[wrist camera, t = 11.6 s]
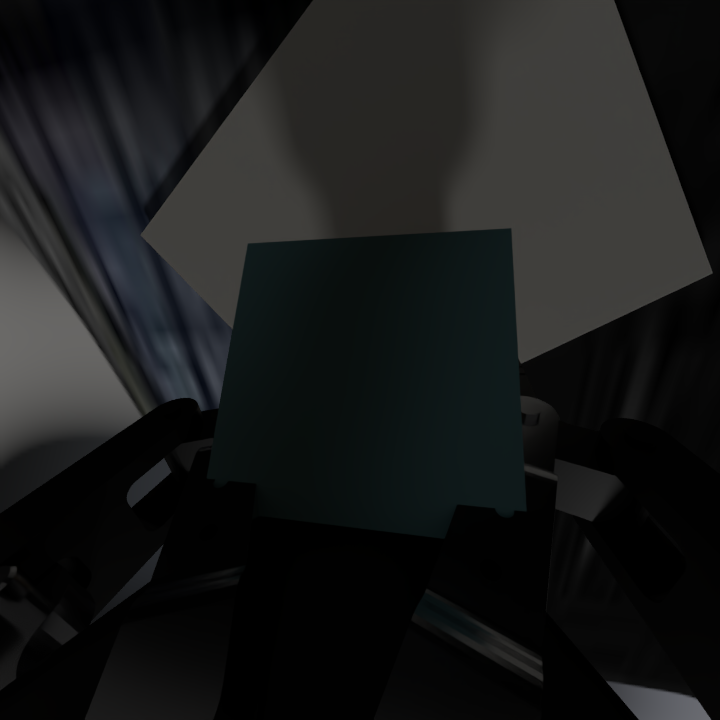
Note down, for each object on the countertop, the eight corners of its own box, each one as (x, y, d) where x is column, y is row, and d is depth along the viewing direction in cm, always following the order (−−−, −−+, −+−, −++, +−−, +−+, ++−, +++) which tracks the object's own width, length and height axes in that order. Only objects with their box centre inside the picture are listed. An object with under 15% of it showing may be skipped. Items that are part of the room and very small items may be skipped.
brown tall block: (454, 371, 16) (511, 228, 6) (455, 478, 15) (528, 550, 4) (355, 368, 17) (247, 242, 7) (348, 468, 16) (201, 508, 5)
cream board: (506, -234, 9) (514, -275, 8) (695, 266, 14) (712, 273, 13) (154, 231, 18) (140, 234, 17) (349, 435, 23) (346, 445, 22)
